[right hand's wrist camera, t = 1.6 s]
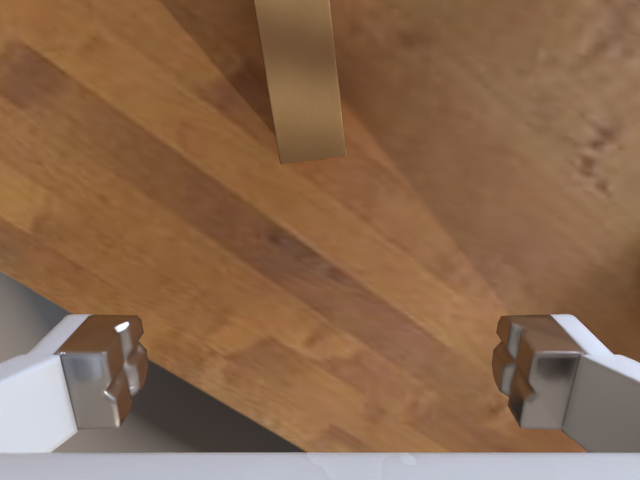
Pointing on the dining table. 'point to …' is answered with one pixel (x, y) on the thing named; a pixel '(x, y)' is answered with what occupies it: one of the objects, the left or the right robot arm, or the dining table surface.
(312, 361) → the dining table surface
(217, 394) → the dining table surface
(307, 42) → the beam
